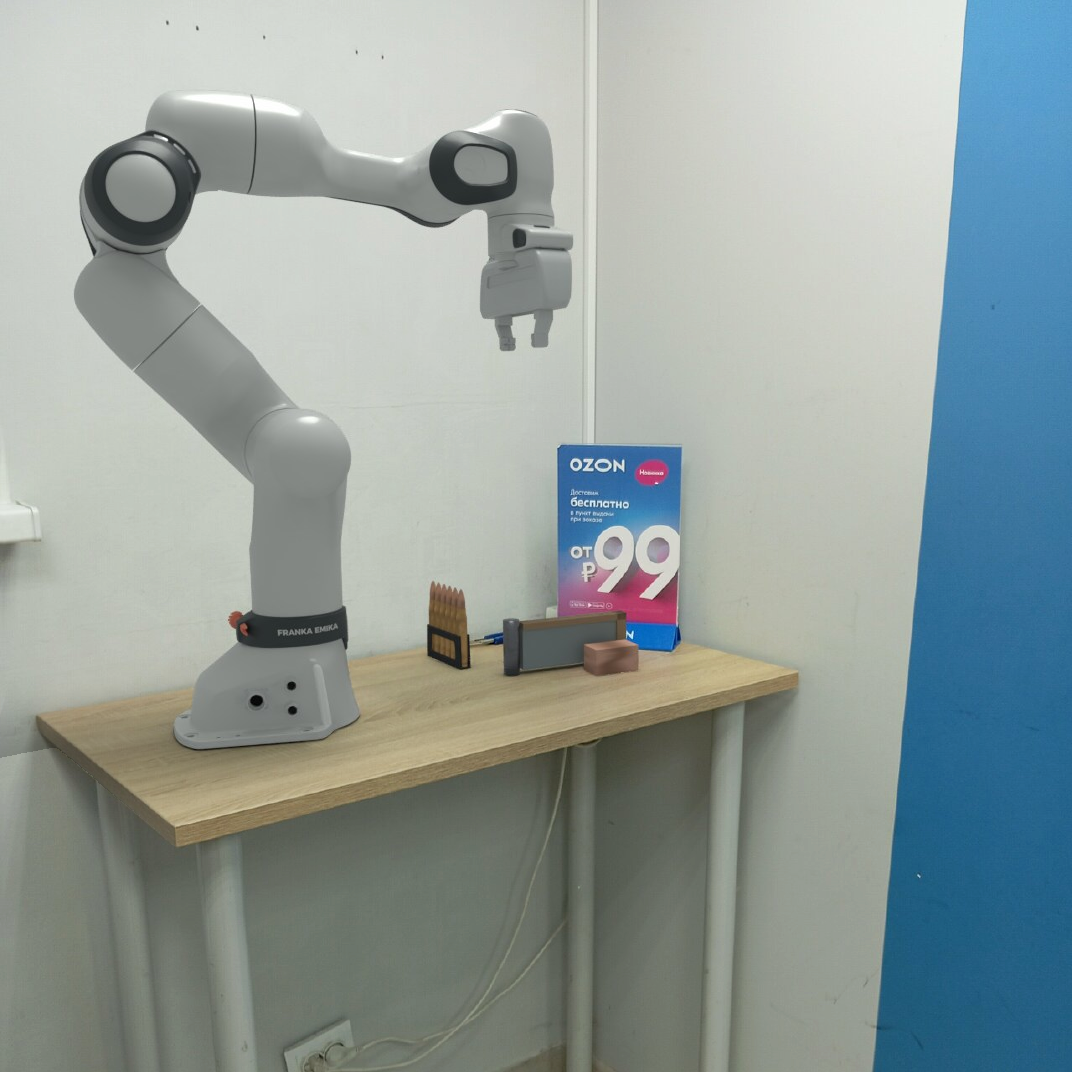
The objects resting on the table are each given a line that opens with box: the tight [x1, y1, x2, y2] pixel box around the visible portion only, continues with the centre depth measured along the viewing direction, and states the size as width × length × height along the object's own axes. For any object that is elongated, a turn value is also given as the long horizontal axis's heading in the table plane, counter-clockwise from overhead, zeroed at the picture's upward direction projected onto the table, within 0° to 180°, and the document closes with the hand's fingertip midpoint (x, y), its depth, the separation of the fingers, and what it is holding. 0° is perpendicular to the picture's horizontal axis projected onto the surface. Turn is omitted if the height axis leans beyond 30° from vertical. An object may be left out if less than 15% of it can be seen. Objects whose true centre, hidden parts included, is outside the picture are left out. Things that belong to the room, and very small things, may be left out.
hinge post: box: [502, 617, 521, 677], centre depth 149 cm, size 2×2×8 cm
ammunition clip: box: [426, 580, 472, 671], centre depth 156 cm, size 11×2×12 cm, turn 34°
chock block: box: [583, 638, 640, 677], centre depth 151 cm, size 7×4×4 cm, turn 114°
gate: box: [519, 610, 627, 671], centre depth 153 cm, size 17×2×7 cm, turn 114°
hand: (523, 349), depth 137 cm, fingers open, 8 cm apart
